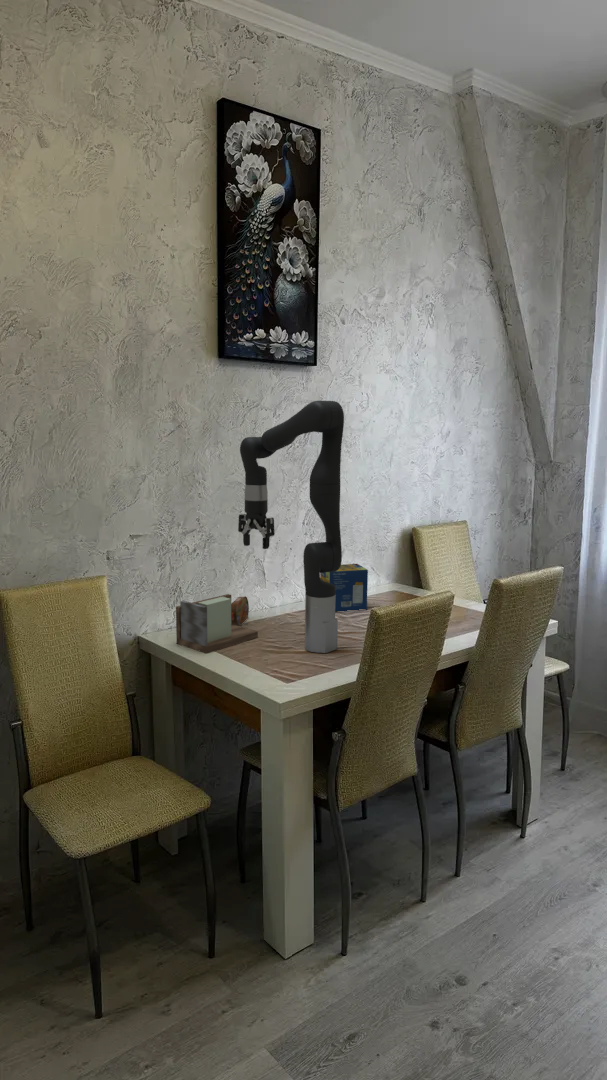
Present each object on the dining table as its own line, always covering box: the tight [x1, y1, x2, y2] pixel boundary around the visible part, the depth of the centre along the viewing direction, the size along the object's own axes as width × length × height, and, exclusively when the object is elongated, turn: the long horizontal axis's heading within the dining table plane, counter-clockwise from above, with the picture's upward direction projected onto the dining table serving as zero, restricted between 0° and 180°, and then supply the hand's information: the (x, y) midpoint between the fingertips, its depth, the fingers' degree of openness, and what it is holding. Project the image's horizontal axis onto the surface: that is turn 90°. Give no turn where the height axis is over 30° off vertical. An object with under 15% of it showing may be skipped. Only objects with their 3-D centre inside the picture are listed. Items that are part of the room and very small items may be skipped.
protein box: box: [320, 563, 369, 612], centre depth 278 cm, size 10×15×16 cm
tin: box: [231, 596, 250, 627], centre depth 259 cm, size 15×3×8 cm, turn 168°
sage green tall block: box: [198, 597, 232, 643], centre depth 234 cm, size 4×10×12 cm, turn 139°
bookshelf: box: [175, 593, 259, 654], centre depth 238 cm, size 14×22×14 cm, turn 138°
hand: (256, 547), depth 248 cm, fingers open, 8 cm apart
